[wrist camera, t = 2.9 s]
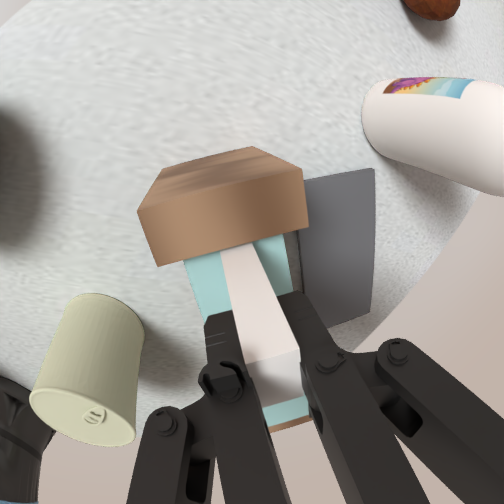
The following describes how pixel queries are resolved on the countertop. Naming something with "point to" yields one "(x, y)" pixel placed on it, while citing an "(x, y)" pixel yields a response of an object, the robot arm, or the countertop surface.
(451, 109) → the milk bottle
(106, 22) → the countertop surface
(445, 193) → the countertop surface
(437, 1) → the potato
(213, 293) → the slab
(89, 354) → the can
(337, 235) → the mat
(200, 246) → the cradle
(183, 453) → the robot arm
